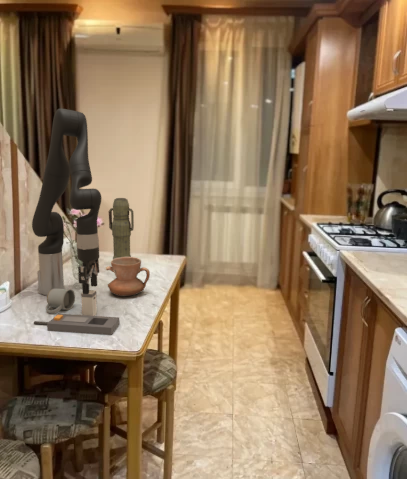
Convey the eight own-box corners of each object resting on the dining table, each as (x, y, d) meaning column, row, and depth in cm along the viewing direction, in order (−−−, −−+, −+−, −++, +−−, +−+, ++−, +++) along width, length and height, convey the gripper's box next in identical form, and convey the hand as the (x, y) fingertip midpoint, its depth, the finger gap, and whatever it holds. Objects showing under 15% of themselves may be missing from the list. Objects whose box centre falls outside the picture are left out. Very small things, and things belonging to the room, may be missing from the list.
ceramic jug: (102, 298, 186) (101, 264, 183) (110, 287, 200) (109, 255, 197) (147, 299, 185) (146, 265, 182) (152, 288, 199) (151, 256, 196)
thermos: (112, 267, 230) (110, 197, 222) (135, 268, 229) (135, 197, 221) (107, 272, 221) (105, 199, 213) (132, 273, 220) (131, 200, 213)
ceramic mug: (57, 303, 180) (56, 284, 178) (76, 305, 177) (75, 286, 176) (40, 313, 170) (38, 293, 168) (59, 316, 168) (58, 296, 166)
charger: (82, 317, 166) (81, 293, 164) (86, 313, 170) (85, 289, 168) (93, 318, 166) (92, 294, 164) (97, 313, 170) (96, 290, 168)
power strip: (27, 329, 155) (26, 319, 155) (39, 318, 164) (39, 310, 163) (111, 334, 152) (111, 325, 151) (119, 324, 161) (119, 315, 160)
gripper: (84, 241, 170) (86, 283, 173) (69, 250, 156) (72, 295, 160) (104, 241, 169) (106, 284, 173) (91, 250, 155) (93, 296, 159)
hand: (90, 289), depth 166 cm, fingers open, 8 cm apart
